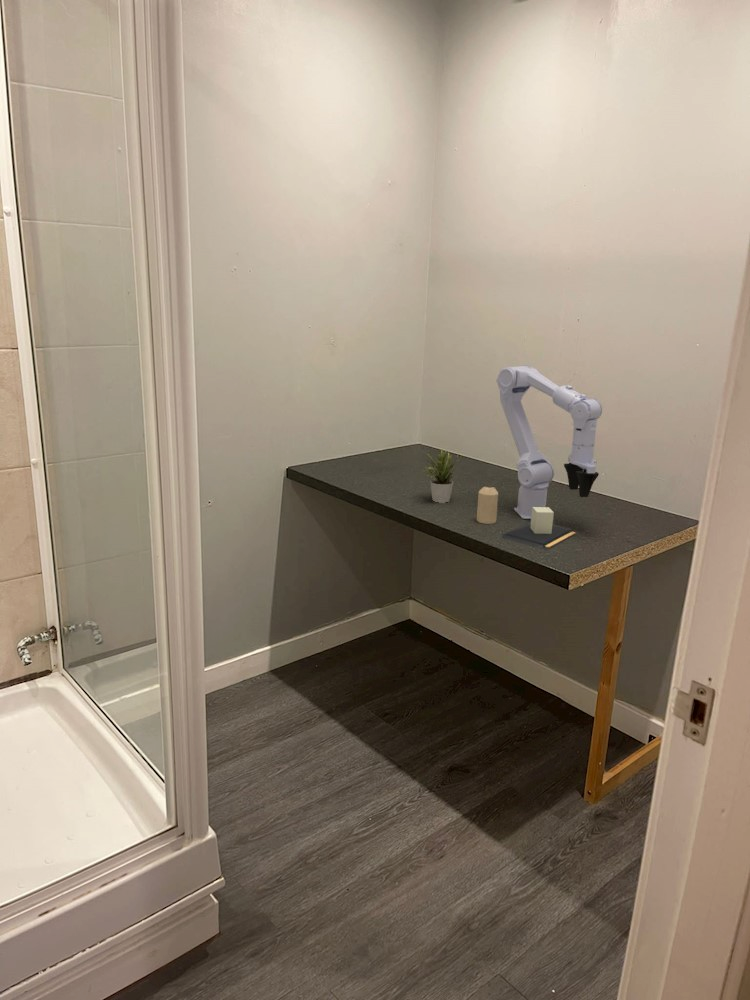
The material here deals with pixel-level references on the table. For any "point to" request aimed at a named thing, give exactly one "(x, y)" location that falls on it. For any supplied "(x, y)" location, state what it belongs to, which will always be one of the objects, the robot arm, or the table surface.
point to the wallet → (540, 536)
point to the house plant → (441, 478)
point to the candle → (487, 505)
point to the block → (542, 520)
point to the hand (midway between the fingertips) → (578, 492)
